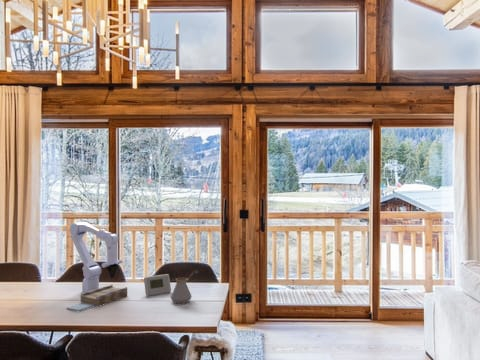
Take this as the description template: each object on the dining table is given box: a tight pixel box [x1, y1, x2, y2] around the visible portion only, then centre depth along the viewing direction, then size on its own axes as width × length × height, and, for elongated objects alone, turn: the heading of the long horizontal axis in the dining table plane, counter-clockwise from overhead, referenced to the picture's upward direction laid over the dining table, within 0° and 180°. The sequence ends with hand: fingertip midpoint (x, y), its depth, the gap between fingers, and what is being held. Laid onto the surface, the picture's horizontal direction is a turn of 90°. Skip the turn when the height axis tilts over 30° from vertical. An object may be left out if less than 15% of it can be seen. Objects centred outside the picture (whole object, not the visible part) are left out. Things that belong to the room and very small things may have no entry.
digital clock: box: [143, 273, 172, 297], centre depth 235 cm, size 16×9×11 cm, turn 113°
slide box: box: [80, 284, 128, 307], centre depth 222 cm, size 22×13×5 cm, turn 152°
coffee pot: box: [170, 269, 199, 305], centre depth 222 cm, size 21×12×15 cm, turn 153°
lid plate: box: [66, 302, 95, 312], centre depth 207 cm, size 10×9×2 cm
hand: (112, 277), depth 232 cm, fingers closed
